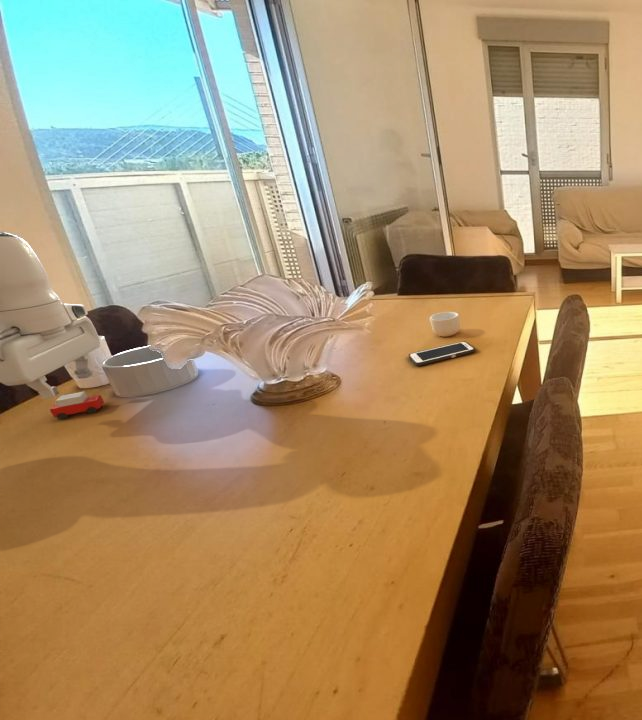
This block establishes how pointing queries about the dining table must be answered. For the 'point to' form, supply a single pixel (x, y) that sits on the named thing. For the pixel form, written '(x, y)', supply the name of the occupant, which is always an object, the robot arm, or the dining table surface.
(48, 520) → the dining table surface
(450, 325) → the teacup
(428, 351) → the cell phone
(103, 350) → the white cup
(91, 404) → the toy car
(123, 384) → the gray bowl
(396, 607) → the dining table surface
